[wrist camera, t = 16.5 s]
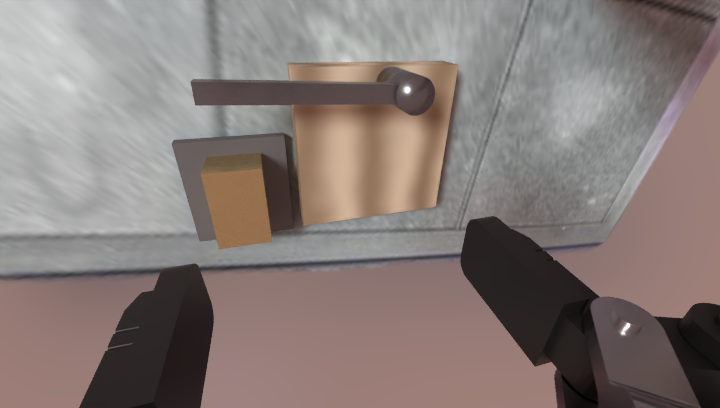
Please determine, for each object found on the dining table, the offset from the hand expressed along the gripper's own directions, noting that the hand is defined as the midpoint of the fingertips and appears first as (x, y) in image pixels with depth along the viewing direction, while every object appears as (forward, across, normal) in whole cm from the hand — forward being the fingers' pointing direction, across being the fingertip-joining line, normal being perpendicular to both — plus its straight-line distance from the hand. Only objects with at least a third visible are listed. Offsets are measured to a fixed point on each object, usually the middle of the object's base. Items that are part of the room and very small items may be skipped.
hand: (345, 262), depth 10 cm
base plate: (+25, -8, +6) cm, 27 cm away
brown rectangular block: (+24, +6, +9) cm, 26 cm away
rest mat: (+25, +6, +9) cm, 27 cm away
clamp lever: (+22, -2, -1) cm, 22 cm away
